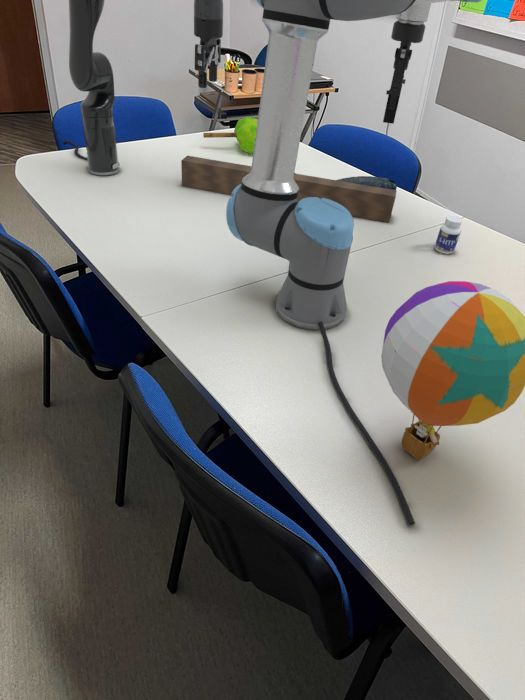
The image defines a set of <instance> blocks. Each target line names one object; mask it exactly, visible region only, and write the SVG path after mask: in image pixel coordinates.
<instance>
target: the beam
mask: <svg viewBox="0 0 525 700" xmlns="http://www.w3.org/2000/svg"><path fill="white" fill-rule="evenodd" d="M180 162H181V166H180V167H181V187H184V188H189V189H196V190H200V191H201V190H202V191H207V192H213V193H217V194H219V193H220V194H225V195H231V196H232V194H231V193H232V192H233V190H234V189H235V188H236V187H237V186H238V185H240V184H242V179H243V177H245V176H246V175H247V174H249V173H250V172H251V167H252V165H247V164H240V163H234V162H229V161H222V160H216V159H211V158H204V157H198V156H192V155H186V156H185V157H183V159H181V161H180ZM295 173H296V172H294V177H293V179H294V181H295V182H296V184H297V185H298V187H299V191H298V197H297V201H300V200H302V199H303V198H307V197H318V198H320V199H322V198H325V199H329V200H332V201H334V202H337V203H338V204H340V205H342V206H343V207H345V208H346V209H347V210H348V211H349V212H350V214H351V215H352V217H354V218H360V219H365V220H370V221H371V220H372V221H377V222H383V223H388V224H390V222H391V218H392V213H393V211H394V210H393V209H394V207H395V202H396V197H397V189H396V190H391V189H385V188H379V187H373V186H367V185H361V184H355V183H349V182H343V181H337V180H338V179H331V178H324V177H318V176H312V175H307V174H301V173H296V174H295Z"/></svg>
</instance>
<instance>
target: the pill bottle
mask: <svg viewBox="0 0 525 700" xmlns="http://www.w3.org/2000/svg"><path fill="white" fill-rule="evenodd" d="M462 222H463V219H461V218H460V217H458V216H455V215H448V216H446V218H445V220H444V223H443V224H442V225H440V228H439V231H438V234H437V237H436V240H435V243H434V250H435V251H437V252H439V253H441V254H447V255H449V254H453V253H454V252H455V250H456V247H457V244H458V242H459V239H460V236H461V233H462V229H461V225H462Z"/></svg>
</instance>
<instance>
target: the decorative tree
mask: <svg viewBox="0 0 525 700" xmlns="http://www.w3.org/2000/svg"><path fill="white" fill-rule="evenodd" d="M257 122H258V118H254V117H250V116H245V117H243V118H241V119H239V120H237V123H236V125H235V126H234V130H233V132H203V134H202V137H203V138H206V139H207V138H235V139H236V141H237V144H238V146H239V148H240V150H242V151H244V152H245V153H248V154H252V155H253V152H254V145H255V137H256V130H257Z"/></svg>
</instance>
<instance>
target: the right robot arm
mask: <svg viewBox="0 0 525 700" xmlns="http://www.w3.org/2000/svg"><path fill="white" fill-rule="evenodd" d="M455 1H457V2H464V3H466V4H467V3H476V4H477V3H480V2H482V0H256V2H257V4H258V5H259V6H260V7H261V8H262V9H263V10H262V18H261V21H262V22H263V25H264V26H265V28H266V29H267V31H268V40H267V48H266V55H265V63H264V69H263V70H264V71H263V76H262V77H263V78H262V85H261V92H260V94H261V95H260V99H259V109H258V116H257V119H258V122H257V130H256V137H255V145H254V152H253V153H252V161H251V166H252V167H251V172H250V173H249V174H247V175H246V176H245V177H243V179H242V184H240V185H238V186H237V187H236V188H235V189H234V190H233V192H232V193H231V194H232V195H231V196H230V197H229V198H228V200H227V204H226V211H225V217H226V224H227V228H228V229H229V232H230V233H231V234H232V235H233V237H235V239H237V240H239V241H241V242H243V243H244V244H246V245H248V246H251V247H254V248H257V249H260V250H262V251H264V252H267V253H270V254H272V255H274V256H277V257H279V258H282V259H284V260H287V261H288V263H289V264H288V270H287V271H288V272H287V275H286V278H285V279H284V282H283V283H282V285H281V287H280V290H279V291H278V294H277V296H276V301H275V311H276V313H277V315H278V316H279V317H280V318H281V319H282V320H283V321H284V322H286V323H287V324H289V325H291V326H293V327H296V328H300V329H304V330H310V331H320V334H321V337H322V341H323V344H324V348H325V354H326V365H327V370H328V374H329V377H330V380H331V382H332V385H333V387H334V390H335V391H336V394H337V395H338V398H339V399H340V401H341V403H342V404H343V407H344V408H345V410H346V411H347V413H348V415H349V416H350V418H351V419H352V421H353V422H354V424H355V425H356V427H357V428H358V431H360V433H361V434H362V437H363V438H364V439H365V441H366V442H367V444H368V446H369V447H370V449H371V451H372V452H373V453H374V455H375V457H376V458H377V460H378V462H379V463H380V465H381V466H382V468H383V470H384V472H385V474H386V475H387V477H388V479H389V481H390V483H391V485H392V488H393V490H394V492H395V494H396V497H397V499H398V502H399V505H400V507H401V509H402V512H403V515H404V517H405V520H406V522H407V524H408V526H415V524H416V522H415V519H414V517H413V514H412V512H411V510H410V507H409V504H408V502H407V500H406V497H405V495H404V492H403V490H402V488H401V486H400V484H399V481H398V479H397V477H396V475H395V474H394V471H393V470H392V469H391V466H390V465H389V463H388V462H387V459H386V458H385V456H384V455H383V454H382V452H381V450H380V449H379V447H378V446H377V444H376V443H375V441H374V439H373V438H372V436H371V434H370V433H369V432H368V430H367V429H366V427H365V426H364V424H363V423H362V422H361V420H360V418H359V417H358V415H357V414H356V413H355V411H354V410H353V408H352V406H351V404H350V403H349V400H348V398H347V397H346V395H345V393H344V392H343V389H342V388H341V385H340V384H339V381H338V379H337V375H336V373H335V370H334V365H333V355H332V349H331V344H330V341H329V337H328V335H327V331H326V330H329V329H333V328H336V327H337V326H339V325H340V324H342V323H343V322H344V320H345V318H346V315H347V310H348V309H347V308H348V307H347V306H348V305H347V297H346V292H345V286H344V280H345V275H346V271H347V267H348V262H349V257H350V253H351V247H352V244H353V242H354V241H353V240H354V230H355V229H354V228H355V221H354V218H353V216H352V215H351V214H350V212H349V211H348V210H347V209H346V208H345V207H343V206H342V205H340V204H338V203H337V202H334V201H332V200H329V199H325V198H322V199H320V198H318V197H307V198H303V199H302V200H300V201H297V197H298V191H299V187H298V185H297V184H296V182H295V181H294V179H293V177H294V173H295V171H296V165H297V159H298V154H299V148H300V142H301V136H302V131H303V125H304V121H305V114H306V108H307V104H308V103H307V102H308V98H309V91H310V88H311V87H310V86H311V82H312V81H311V80H312V74H313V69H314V64H315V60H316V59H315V58H316V52H317V47H318V43H319V41H320V40H321V39H322V38H324V36H325V35H326V34H327V33H328V32H329V29H330V24H331V20H334V21H341V22H342V21H343V22H357V21H365V20H373V19H378V18H384V17H390V16H394V17H395V19H396V21H394V22H393V26H392V30H391V35H390V38H391V40H393V41H396V42H400V43H399V47H396V49H395V52H394V62H393V66H392V67H393V70H394V71H393V74H392V79H391V83H390V87H389V90H388V89H387V90H386V93H385V95H387V101H386V105H385V109H384V115H383V119H382V123H386V124H392V125H394V124H395V118H396V114H397V110H398V107H399V102H400V97H401V93H402V88H403V85H405V84H406V79H404V78H405V72H406V71H407V70H408V69H409V64H410V63H409V62H410V60H411V59H412V54H413V49H411V46H412V44H419V43H421V42H423V40H424V36H425V32H426V31H425V30H426V25H425V23H426V22H427V21H428V19H429V15H430V10H431V6H432V4H435V3H443V2H455Z"/></svg>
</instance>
